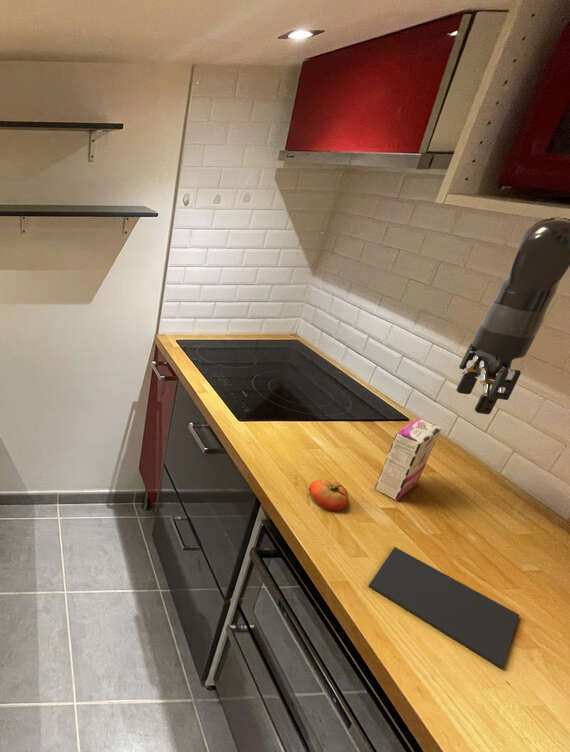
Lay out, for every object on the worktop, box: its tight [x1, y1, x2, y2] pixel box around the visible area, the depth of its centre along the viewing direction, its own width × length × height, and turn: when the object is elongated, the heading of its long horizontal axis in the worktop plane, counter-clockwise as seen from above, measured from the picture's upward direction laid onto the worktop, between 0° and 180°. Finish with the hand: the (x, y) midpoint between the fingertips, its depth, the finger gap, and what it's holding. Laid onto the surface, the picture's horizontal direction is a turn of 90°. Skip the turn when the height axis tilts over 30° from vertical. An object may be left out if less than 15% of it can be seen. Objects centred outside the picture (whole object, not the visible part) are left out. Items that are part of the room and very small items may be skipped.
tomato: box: [307, 478, 350, 512], centre depth 101 cm, size 8×7×7 cm
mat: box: [368, 546, 520, 670], centre depth 79 cm, size 18×14×1 cm
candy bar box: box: [374, 418, 443, 502], centre depth 103 cm, size 11×5×16 cm, turn 122°
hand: (471, 402), depth 90 cm, fingers open, 8 cm apart
